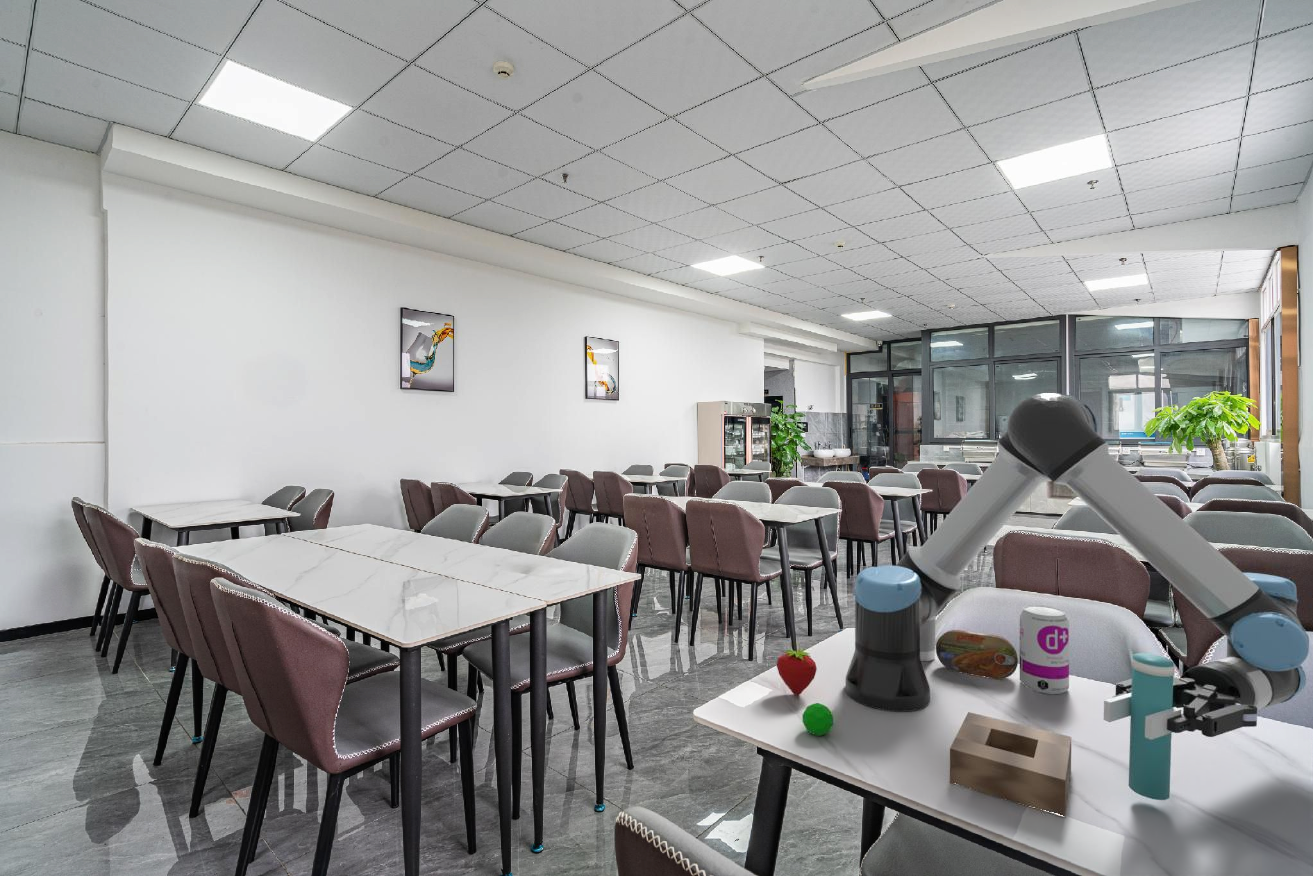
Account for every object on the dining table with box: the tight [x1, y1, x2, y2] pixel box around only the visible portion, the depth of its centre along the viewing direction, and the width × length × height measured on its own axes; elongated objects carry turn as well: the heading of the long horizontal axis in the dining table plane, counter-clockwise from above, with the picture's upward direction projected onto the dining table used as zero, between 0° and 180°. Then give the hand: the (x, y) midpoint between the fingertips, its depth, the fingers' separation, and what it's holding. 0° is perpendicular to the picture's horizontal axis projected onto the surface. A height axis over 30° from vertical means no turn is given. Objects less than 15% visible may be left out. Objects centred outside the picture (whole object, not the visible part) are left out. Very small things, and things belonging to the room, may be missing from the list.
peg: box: [1128, 652, 1176, 801], centre depth 86 cm, size 5×5×18 cm
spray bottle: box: [920, 616, 937, 662], centre depth 141 cm, size 7×7×18 cm
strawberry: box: [776, 641, 818, 696], centre depth 121 cm, size 6×8×10 cm
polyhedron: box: [802, 702, 834, 736], centre depth 106 cm, size 5×5×5 cm
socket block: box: [949, 711, 1072, 817], centre depth 93 cm, size 14×14×5 cm
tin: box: [935, 629, 1019, 680], centre depth 131 cm, size 15×3×8 cm, turn 58°
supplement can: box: [1019, 604, 1070, 695], centre depth 124 cm, size 8×8×15 cm
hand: (1127, 719), depth 84 cm, fingers closed on peg, 4 cm apart
